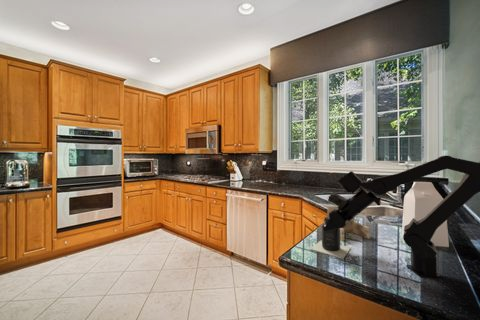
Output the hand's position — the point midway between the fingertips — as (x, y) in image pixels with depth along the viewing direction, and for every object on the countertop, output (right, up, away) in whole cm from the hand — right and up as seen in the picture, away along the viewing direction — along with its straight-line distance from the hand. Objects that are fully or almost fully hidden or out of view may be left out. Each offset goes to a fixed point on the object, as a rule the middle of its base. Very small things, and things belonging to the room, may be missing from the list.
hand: (327, 227), depth 85 cm
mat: (+1, -9, -1) cm, 9 cm away
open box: (+16, -9, +15) cm, 23 cm away
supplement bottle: (+1, -8, -1) cm, 8 cm away
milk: (+46, -9, +9) cm, 48 cm away
